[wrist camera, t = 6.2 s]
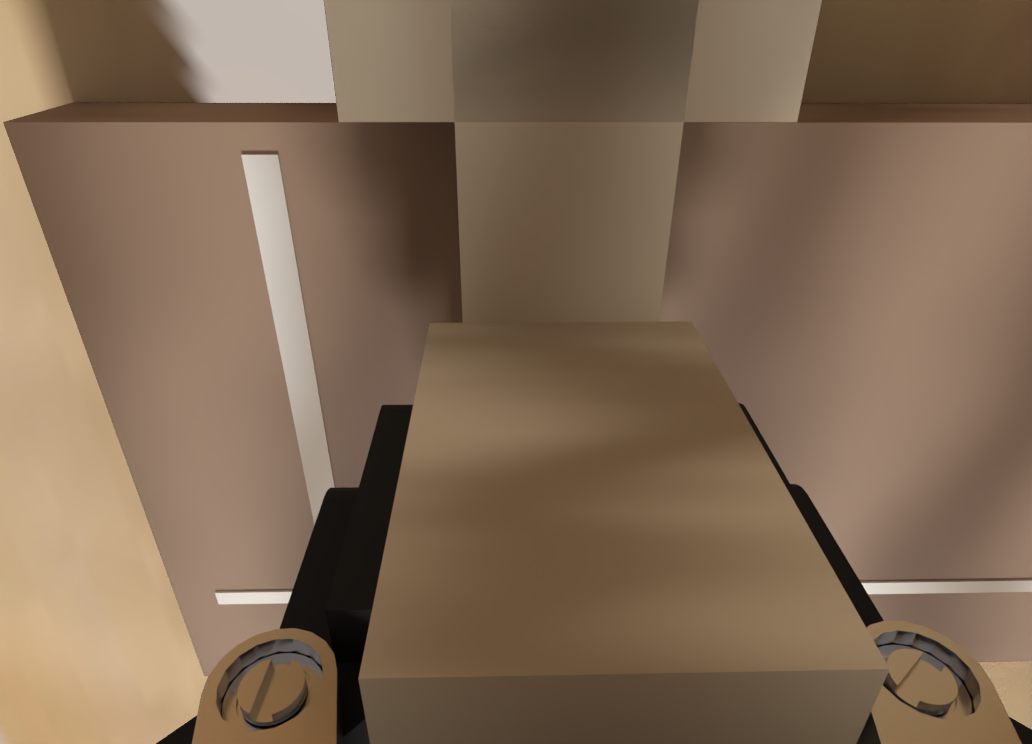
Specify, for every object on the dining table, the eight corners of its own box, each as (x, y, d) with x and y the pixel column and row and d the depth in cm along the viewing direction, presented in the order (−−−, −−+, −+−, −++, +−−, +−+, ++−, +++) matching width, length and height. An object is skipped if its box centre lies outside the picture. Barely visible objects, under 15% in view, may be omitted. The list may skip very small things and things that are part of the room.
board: (1425, 104, 13) (1570, 123, 11) (1103, 600, 20) (1161, 660, 18) (71, 102, 12) (0, 122, 11) (230, 614, 20) (203, 677, 18)
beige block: (738, -90, 11) (1629, -354, 2) (645, 570, 18) (772, 1079, 10) (367, -93, 11) (-146, -389, 2) (426, 573, 18) (364, 1092, 10)
